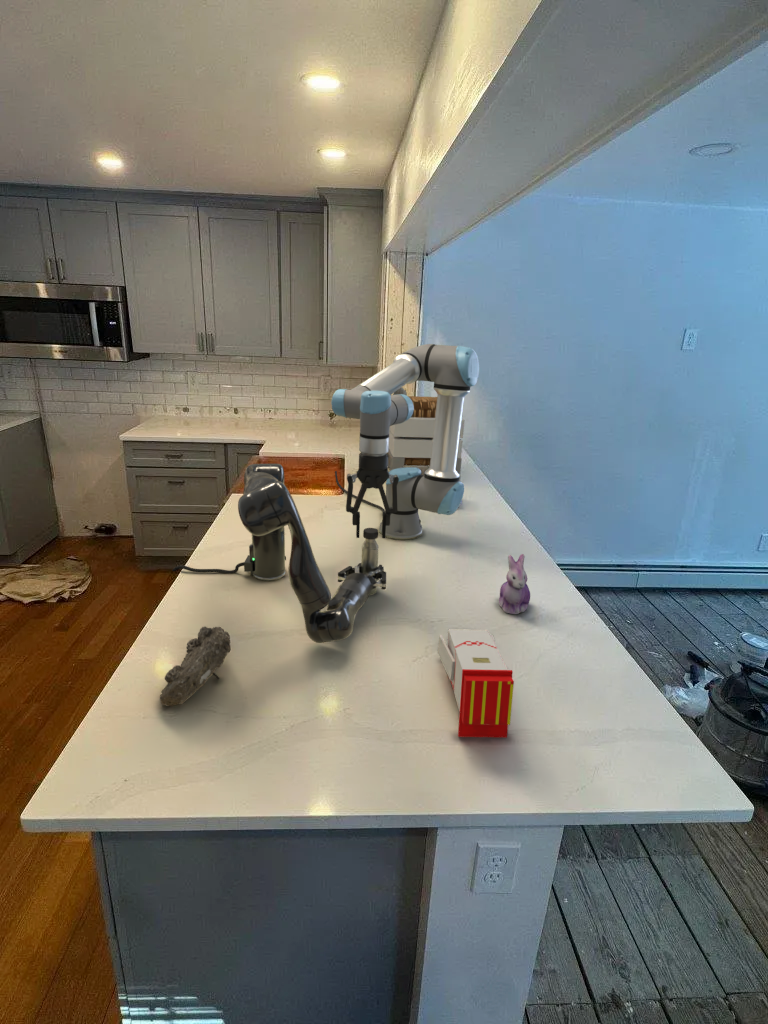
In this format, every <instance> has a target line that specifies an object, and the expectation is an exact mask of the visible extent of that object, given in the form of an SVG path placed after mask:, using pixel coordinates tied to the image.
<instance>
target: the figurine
mask: <svg viewBox="0 0 768 1024" xmlns="http://www.w3.org/2000/svg"><path fill="white" fill-rule="evenodd" d="M507 561H508V562H507V563H508V571H507V573H506V576H505V578H506V581H505V582H504V583H503V584H501V586H500V588H499V589H500V590H499V598H498V605H499V607H500V608H501V609H502V611H503V612H504V613H507V614H511V615H518V614H519V613H525V612H526V611H527V609H528V607H529V604H530V601H531V591H530V588H529V585H528V584H527V582H528V575H527V571H526V570H525V568H524V567H525V566H524V563H525V554H524V553H521V554H520V555H519V557H518V558H517V560H515V559H514V557H513V556H512V555H511V554H509V555H508V556H507Z"/></svg>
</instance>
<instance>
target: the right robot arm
mask: <svg viewBox="0 0 768 1024" xmlns="http://www.w3.org/2000/svg"><path fill="white" fill-rule="evenodd" d="M479 376H480V361H479V357H478V354H477V352H476V351H475V350H474V349H473V348H472V347H469V346H462V345H449V344H436V343H435V344H434V343H427V344H421V345H418V346H415V347H412V348H410V349H408V350H406V351H403V352H402V353H400V354H398V355H397V356H396V357H395V358H394V359H393V361H392V363H391V364H389V365H388V366H386V367H384V368H383V369H381V370H380V371H378V372H377V373H375V374H373V375H372V376H370V377H369V378H367V379H365V380H364V381H362V382H361V383H359V384H358V385H356V386H355V387H353V388H351V389H348V388H338V389H336V390H335V392H334V393H333V394H332V398H331V403H330V405H331V409H332V412H333V414H335V415H336V416H338V417H343V418H345V419H354V420H356V419H357V420H359V447H358V451H359V454H358V469H357V471H356V472H355V473H347V474H346V480H347V490H346V489H345V488H344V487H343V486H342V485H341V484H340V482H339V479H338V471H337V470H335V471H334V476H335V477H334V478H335V483H336V485H337V487H338V488H339V489H340V490H342V491H343V492H344V493H345V494H346V503H345V511H346V512H347V513H350V514H352V519H351V520H352V523H351V524H352V526H355V536H356V539H360V529H361V528H360V526H361V512H360V511H359V510H360V507H361V505H362V502H363V503H365V504H367V505H370V506H372V507H375V508H377V509H379V510H380V511H382V515H381V516H382V519H381V522H379V526H378V533H379V534H380V535H381V538H382V539H386V538H387V539H389V540H395V541H410V540H415V539H418V538H420V537H421V536H422V535H423V525H422V524H421V522H422V521H421V518H420V515H419V510H421V511H426V512H429V513H435V514H438V515H445V516H451V515H453V514H454V513H456V511H457V510H458V509H459V508H460V505H461V504H462V502H463V501H462V500H463V497H464V493H465V485H464V483H463V482H462V481H461V480H460V481H459V474H458V473H457V471H456V462H457V454H458V445H459V437H460V429H461V421H462V419H463V410H464V403H465V397H466V396H467V395H468V394H469V393H470V392H471V387H474V386H476V384H477V383H478V379H479ZM416 382H430V383H433V390H434V391H435V392H436V397H437V404H436V413H435V423H434V432H433V441H432V450H431V460H430V466H428V468H427V469H426V470H424V474H422V470H421V468H419V467H414V466H411V467H409V466H406V467H405V466H404V468H397V469H393V470H391V471H390V470H389V469H388V468H389V467H388V454H387V452H388V451H389V428H390V426H392V425H395V424H401V423H403V422H404V421H407V420H408V419H410V418H411V416H412V414H413V411H414V406H413V402H412V400H411V399H410V398H409V397H408V396H409V395H407V396H406V395H404V394H395V395H393V394H394V392H395V391H397V390H398V389H400V388H401V387H402V388H403V387H404V386H405V385H411V384H413V383H416ZM357 479H358V481H359V482H360V483H361V485H360V488H359V491H358V494H357V495H355V494H353V492H354V483H356V481H357ZM384 484H385V488H384ZM368 489H376V490H377V489H378V491H379V494H380V498H381V501H382V504H383V507H384V508H383V507H382V506H380V505H378V504H376V503H373V502H370V501H369V500H366V499H364V496H365V494H366V493H367V490H368ZM353 498H354V499H355V501H354V504H353V506H352V501H353ZM460 503H461V504H460Z"/></svg>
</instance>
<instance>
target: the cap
mask: <svg viewBox="0 0 768 1024" xmlns="http://www.w3.org/2000/svg"><path fill="white" fill-rule="evenodd" d="M362 536H363V537H362V538H364V539H370V540H372V539H376V540H377V539H378V538H379V529H378V528H375V527H366V528H364V529H363V533H362Z"/></svg>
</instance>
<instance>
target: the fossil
mask: <svg viewBox="0 0 768 1024" xmlns="http://www.w3.org/2000/svg"><path fill="white" fill-rule="evenodd" d="M231 648H232V647H231V635H230V633H229V631H225V630H224V628H223V627H222V626H215V627H214V626H213V627H212V628H211V627H207V626H202V627H200V629H199V631H198V633H197V637H195V638H191V639H189V640H188V641H187V643H186V654H185V656H184V657H183V660H182V661H181V663H180V665H178V664H177V665H174V666H173V667H172V668H171V669H170V670H168V672H166V673H165V675H164V678H163V679H164V681H165V682H166V683H167V684H166V685H165V687H164V688H162V689H161V690H160V694H159V700H160V703H161V705H165V706H167V707H173V706H178V705H183V704H184V703H185V702H186V701H187V700H188V699H190V697H192V696H193V695H194V694H195V693H196V692H197V691H199V690H200V689H201V688H202V687H203V686H204V685H205V684H206V682H207V681H208V679H209V678H210V677H212V675H213V677H215V678H216V680H220V679H221V677H219V675H218V674H216V672H215V671H216V669H217V668H220V667H221V666H222V665H223V663H224V661H225V658H226V657H227V655H228V654H229V653H230V652H231Z"/></svg>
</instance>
